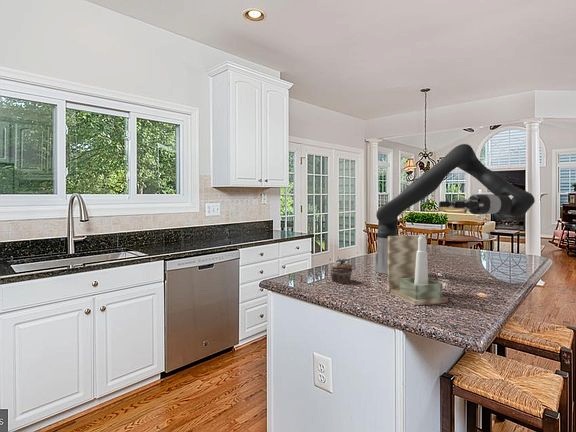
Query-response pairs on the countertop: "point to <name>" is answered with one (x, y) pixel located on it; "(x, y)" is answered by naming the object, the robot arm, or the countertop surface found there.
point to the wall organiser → (409, 273)
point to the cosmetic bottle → (421, 262)
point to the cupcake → (341, 271)
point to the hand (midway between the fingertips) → (446, 204)
